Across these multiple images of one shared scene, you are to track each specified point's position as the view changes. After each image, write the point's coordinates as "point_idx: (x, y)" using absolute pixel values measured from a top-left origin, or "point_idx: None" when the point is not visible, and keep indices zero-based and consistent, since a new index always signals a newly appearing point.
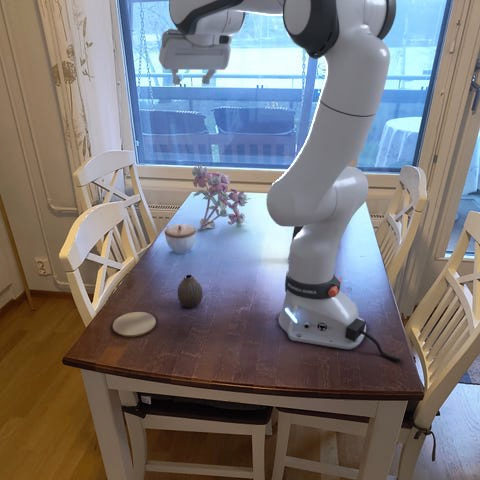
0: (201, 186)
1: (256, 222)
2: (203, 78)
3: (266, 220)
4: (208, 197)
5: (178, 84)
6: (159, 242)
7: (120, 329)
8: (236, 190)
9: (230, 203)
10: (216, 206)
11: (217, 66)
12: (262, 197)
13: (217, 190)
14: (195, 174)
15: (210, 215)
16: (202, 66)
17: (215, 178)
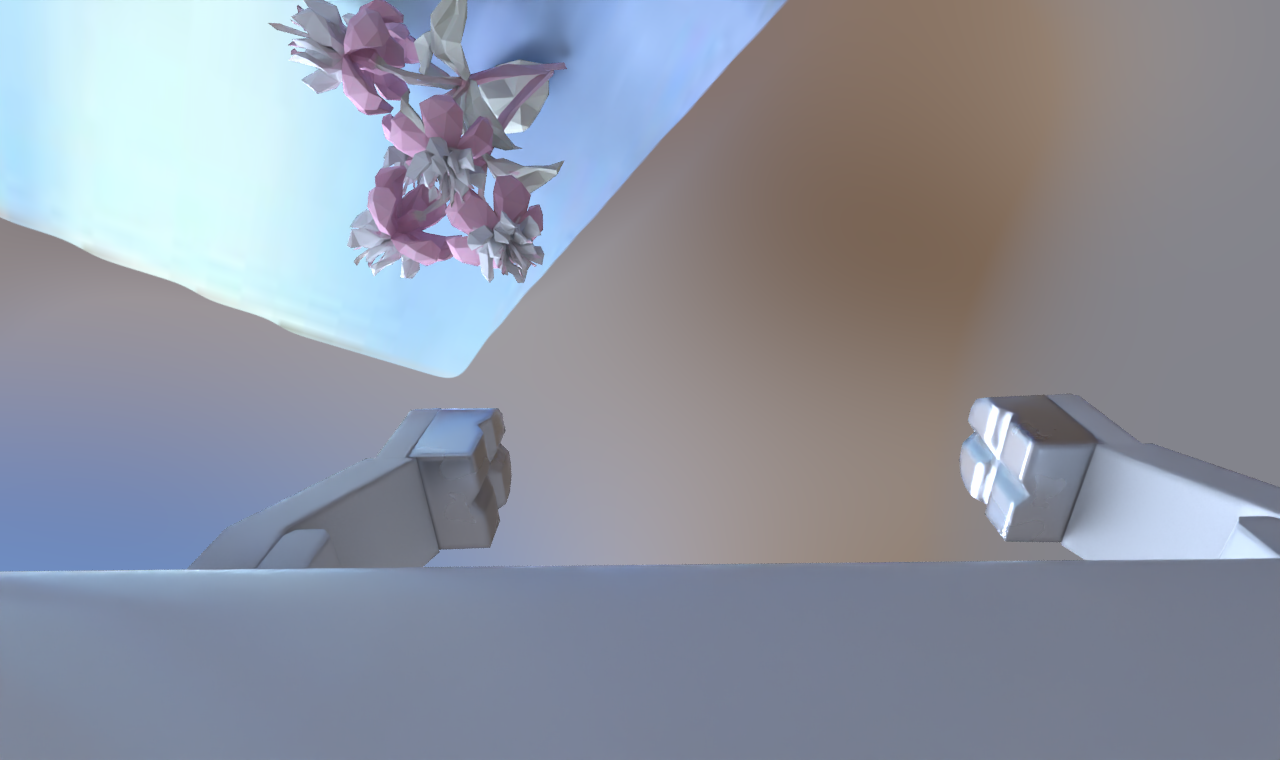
0: (518, 180)
1: None
2: (492, 499)
3: (222, 27)
4: (498, 122)
5: (1003, 397)
6: (755, 29)
7: None
8: (343, 73)
9: (383, 122)
10: (470, 77)
11: (22, 637)
12: (214, 266)
13: (453, 101)
14: (537, 225)
15: (505, 70)
16: (604, 631)
17: (442, 170)
